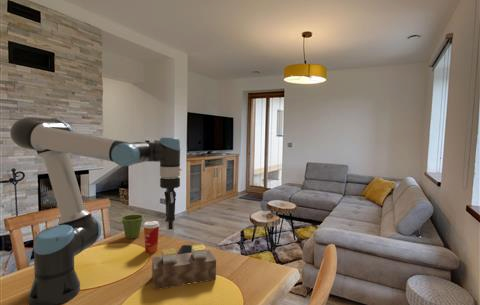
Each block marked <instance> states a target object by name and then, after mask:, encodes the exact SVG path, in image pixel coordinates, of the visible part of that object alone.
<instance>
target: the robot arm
mask: <svg viewBox="0 0 480 305" xmlns="http://www.w3.org/2000/svg"><path fill="white" fill-rule="evenodd" d="M10 138H11V139H12V141H13V143H14V144H16V145H17V146H18V147H20V148H22V149H26V150H35V152H36V154H37V156H38V157H39V158H41V159H43V161H44V164H45V167H46V172H47V174H48V177H49V178H48V179H49V182H50V185H51V188H52V191H53V195H54V198H55V201H56V205H57V208H58V210H59V214H60V219H59V221H58V222H57V225H53V226H50V227H47V228H45V229H42V230H41V231H39V232H37V234H36V235H35V237H34V240H33V247H32V248H33V249H32V250H33V261H34V262H33V266H34V269H33V271H34V272H33V273H34V277H33V278H34V279H33V281H32V284H31V287H30V290H29V293H28V304H29V305H61V304H64V303H66V302H68V301H70V300H72V299H73V298H75V296H77V295H78V294H79V292H80V291H81V281H80V279H79V277H78V274H77V272H76V270H75V257H76V256H77V255H79V254H80V253H82V252H84V251H85V250H86V249H89V248H90V247H92V246H93V245H94V244H95V243H96V242H97V241H98V240H99V239H100V236H101V234H102V225H101V222H100V221H99V220H98V219H97V218H96V217H94V216H92V212H91V211H89V210H87V209H86V207H85V204H84V201H83V198H82V194H81V191H80V187H79V184H78V180H77V176H76V174H75V169H74V166H73V163H72V159H71V155H77V156H82V157H85V158H91V159H92V158H93V159H98V160H101V161H102V160H103V161H107V162H113V163H115V164H116V165H118V166H120V167H130V166H132V165H136V164H140V163H145V162H146V163H147V162H150V163H151V162H154V163H155V162H156V163H157V162H159V176H160V178H159V187H160V188H161V189H165V191H163V192H164V193H163V195H164V202H165V218H166V219H165V220H164V221H165V223H166V224H165V225H166V227H165V228H166V230H165V232H166V235H165V236H166V238H174V237H175V219H176V218H175V216H176V196H177V193H176V191H175V189H177V188H179V187H181V178H180V175H181V172H180V171H182V168H181V143H180V142H181V140H180V139H179V138H178V137H160V139H159V142H157V141H156V142H152V141H133V142H129V141H122V140H117V139H111V138H107V137H101V136H97V135H90V134H86V133H81V132H75V131H74V130H73V128H72V126H71V125H70V124H69V123H68V122H66V121H63V120H62V119H61V120H60V119H58V118H45V117H44V118H43V117H33V116H32V117H31V116H30V117H29V116H28V117H23V118H20V119H18V120H17V121H15V122H14V123H13V124H12V125H11V127H10ZM70 154H71V155H70Z"/></svg>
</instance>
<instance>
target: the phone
mask: <svg viewBox="0 0 480 305" xmlns="http://www.w3.org/2000/svg"><path fill="white" fill-rule="evenodd" d="M192 246H193V245H189V244H183V245H181V247H180V249H179V250H178V251H177V252H176V254H184V253H192Z"/></svg>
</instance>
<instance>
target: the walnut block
mask: <svg viewBox="0 0 480 305" xmlns="http://www.w3.org/2000/svg"><path fill="white" fill-rule="evenodd" d="M151 260H152V261H151V262H152V264H151V273H152V274H151V275H152V276H151V277H152V278H151V280H152V285H153V286H152V287H153V290H154V291H155V289H157V290H161V289H160V288H162V289H167V288H166V287H168V288H172V287H171V286H174V287H179V286H178V285H180V286H183V285H182V284H186V285H189V284H188V283H191V284H195V283H194V282H197V283H201V282H200V281H203V282H207V281H206V280H209V281H213V280H212V279H215V280H216V279H217V259H216V258H215V256H214V254H213V252H212V251H211V250H210V249H208V250H207V249H206V259H203V260H196V261H193V259H192V253H184V254H177V253H176V263H174V264H167V265H162V255H161V256H154V257H152V259H151Z"/></svg>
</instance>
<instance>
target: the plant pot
mask: <svg viewBox="0 0 480 305" xmlns="http://www.w3.org/2000/svg"><path fill="white" fill-rule="evenodd" d="M144 217H145V216H144V215H143V214H136V213H135V214H134V213H133V214H126V215H123V216H122V217H120V220H121V221H122V225H123V230H124V237H125V238H126V239H128V240H129V239H137V238H139V237H140V234H141V227H142V223H143V219H144Z"/></svg>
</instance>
